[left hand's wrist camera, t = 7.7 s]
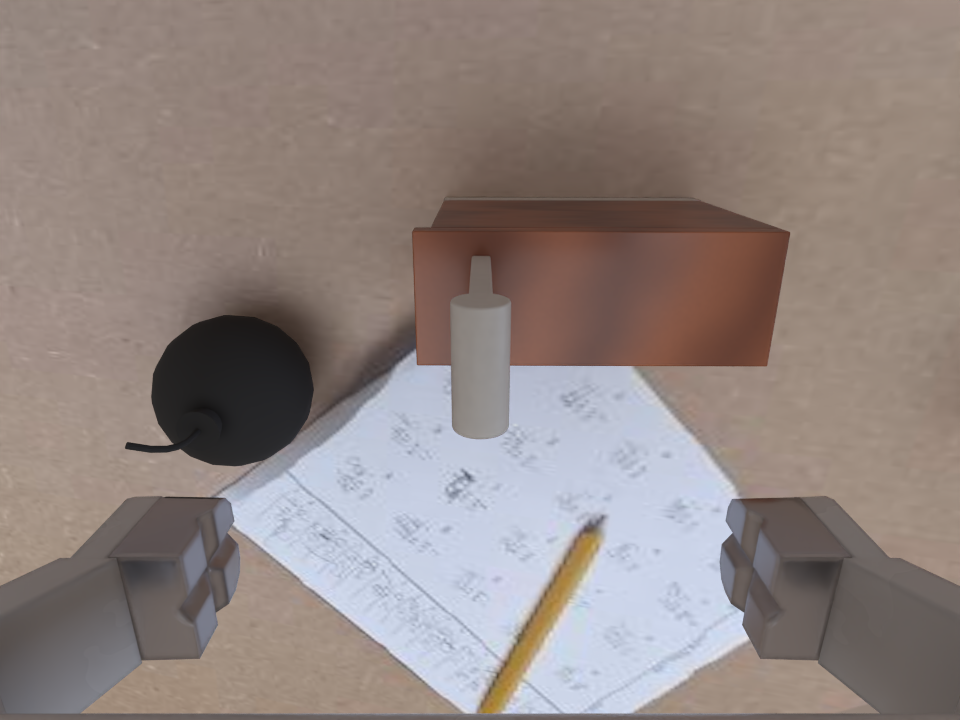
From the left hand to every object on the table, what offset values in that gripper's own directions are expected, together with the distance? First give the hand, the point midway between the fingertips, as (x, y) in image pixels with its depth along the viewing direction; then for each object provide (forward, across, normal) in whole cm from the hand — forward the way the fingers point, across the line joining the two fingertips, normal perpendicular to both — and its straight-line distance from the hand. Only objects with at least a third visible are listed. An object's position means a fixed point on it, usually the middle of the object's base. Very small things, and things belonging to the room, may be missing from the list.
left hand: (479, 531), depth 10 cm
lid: (+15, -4, 0) cm, 16 cm away
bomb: (+26, +13, +7) cm, 30 cm away
